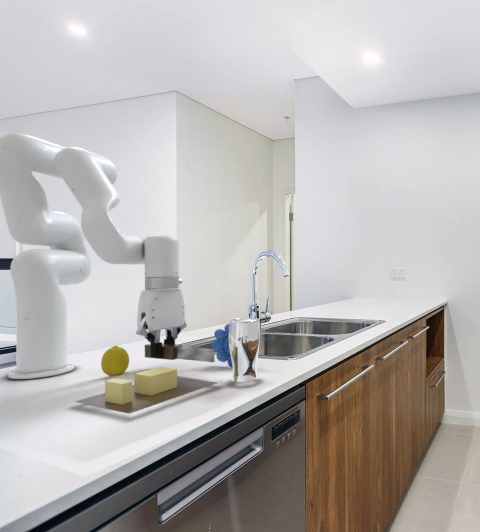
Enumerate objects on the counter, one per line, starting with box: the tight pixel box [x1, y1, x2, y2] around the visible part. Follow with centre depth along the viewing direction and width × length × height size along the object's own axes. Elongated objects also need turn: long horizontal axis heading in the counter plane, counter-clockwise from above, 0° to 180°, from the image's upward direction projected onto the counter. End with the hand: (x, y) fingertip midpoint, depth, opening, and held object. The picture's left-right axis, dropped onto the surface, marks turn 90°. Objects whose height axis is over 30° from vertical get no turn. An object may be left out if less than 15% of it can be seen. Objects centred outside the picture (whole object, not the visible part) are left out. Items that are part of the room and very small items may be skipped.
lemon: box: [100, 345, 130, 377], centre depth 97 cm, size 6×6×8 cm
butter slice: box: [104, 378, 133, 405], centre depth 77 cm, size 5×2×4 cm, turn 68°
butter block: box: [133, 366, 178, 396], centre depth 84 cm, size 5×6×4 cm
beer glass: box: [229, 317, 261, 383], centre depth 93 cm, size 7×7×15 cm
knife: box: [144, 342, 216, 363], centre depth 99 cm, size 22×3×3 cm, turn 68°
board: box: [74, 376, 217, 415], centre depth 84 cm, size 16×20×1 cm
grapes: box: [210, 323, 233, 369], centre depth 106 cm, size 12×7×12 cm, turn 108°
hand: (163, 355), depth 101 cm, fingers closed on knife, 2 cm apart
